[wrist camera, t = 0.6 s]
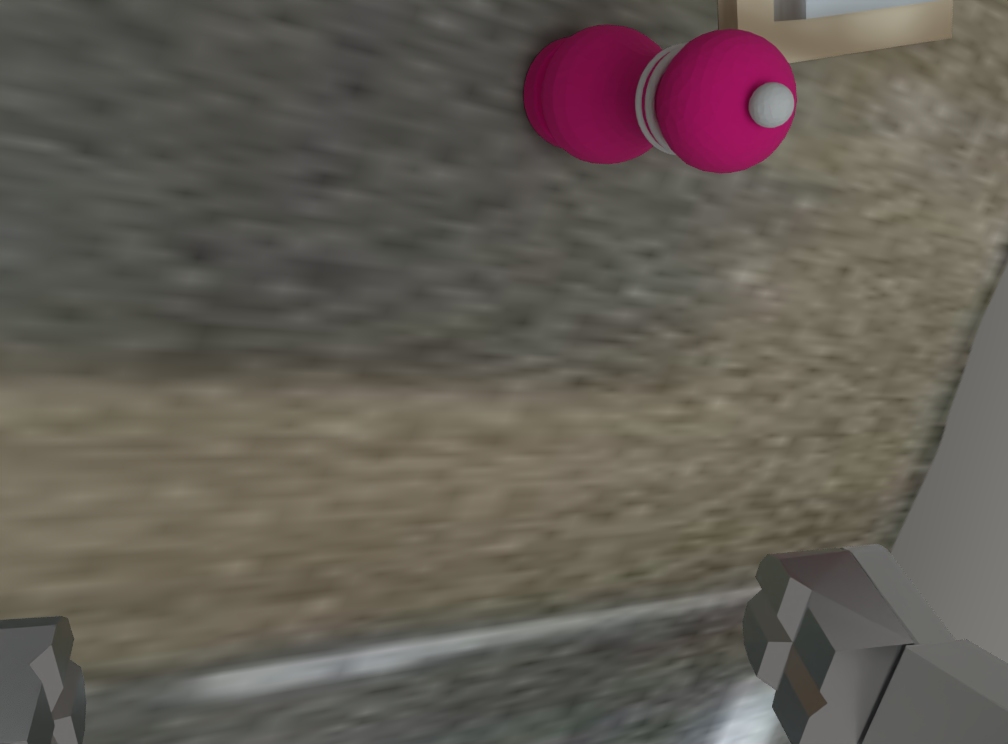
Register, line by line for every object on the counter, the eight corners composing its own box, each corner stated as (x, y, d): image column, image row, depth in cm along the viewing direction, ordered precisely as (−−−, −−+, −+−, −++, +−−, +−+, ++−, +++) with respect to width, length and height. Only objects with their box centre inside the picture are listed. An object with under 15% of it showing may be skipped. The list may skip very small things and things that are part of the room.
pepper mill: (648, 71, 57) (889, 72, 39) (589, 179, 57) (799, 229, 39) (553, 1, 53) (768, -32, 36) (492, 117, 54) (673, 141, 36)
